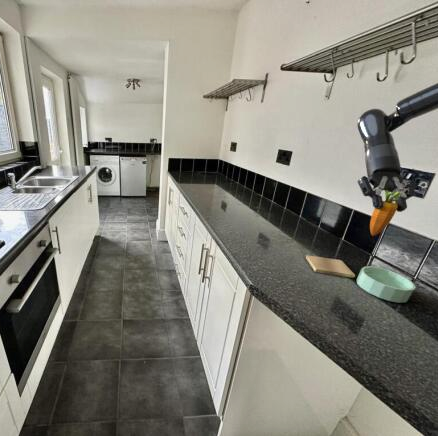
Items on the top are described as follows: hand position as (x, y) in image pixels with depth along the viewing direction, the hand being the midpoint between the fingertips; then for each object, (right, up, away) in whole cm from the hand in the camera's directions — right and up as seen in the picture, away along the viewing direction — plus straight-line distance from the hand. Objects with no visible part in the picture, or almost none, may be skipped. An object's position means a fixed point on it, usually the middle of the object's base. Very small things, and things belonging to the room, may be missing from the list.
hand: (390, 209), depth 68 cm
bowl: (+3, -26, +6) cm, 27 cm away
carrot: (0, -9, +6) cm, 10 cm away
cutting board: (-5, -21, +18) cm, 28 cm away
